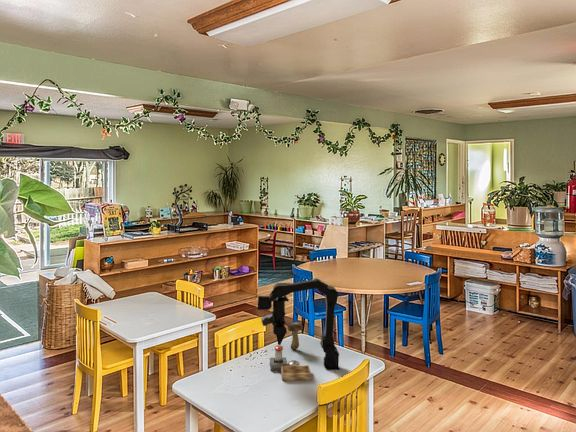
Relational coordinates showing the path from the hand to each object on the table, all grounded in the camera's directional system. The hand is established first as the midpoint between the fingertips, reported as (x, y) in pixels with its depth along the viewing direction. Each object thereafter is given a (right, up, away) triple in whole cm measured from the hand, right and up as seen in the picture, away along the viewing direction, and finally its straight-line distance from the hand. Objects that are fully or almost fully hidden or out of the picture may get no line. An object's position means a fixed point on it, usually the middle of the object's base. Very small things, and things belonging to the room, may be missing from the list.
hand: (278, 341), depth 214 cm
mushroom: (+8, -11, +23) cm, 27 cm away
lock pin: (0, -13, +1) cm, 13 cm away
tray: (+8, -14, -8) cm, 18 cm away
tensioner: (+3, -13, +2) cm, 13 cm away
